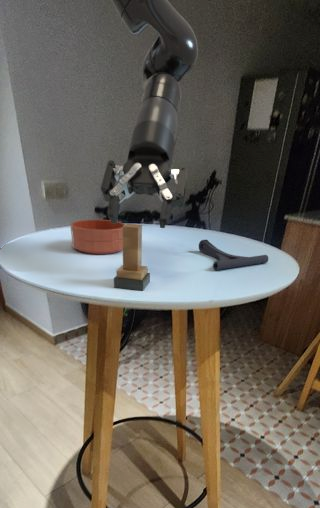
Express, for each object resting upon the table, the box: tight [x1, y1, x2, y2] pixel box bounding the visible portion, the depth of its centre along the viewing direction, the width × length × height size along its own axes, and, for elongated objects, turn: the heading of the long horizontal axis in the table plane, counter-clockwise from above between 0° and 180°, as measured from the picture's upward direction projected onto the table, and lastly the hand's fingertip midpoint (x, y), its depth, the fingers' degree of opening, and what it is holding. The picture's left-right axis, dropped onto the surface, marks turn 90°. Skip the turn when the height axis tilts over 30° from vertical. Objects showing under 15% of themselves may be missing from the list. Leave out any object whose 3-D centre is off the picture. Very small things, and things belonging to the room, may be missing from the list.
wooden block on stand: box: [113, 223, 151, 291], centre depth 62 cm, size 5×5×10 cm
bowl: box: [69, 219, 126, 255], centre depth 83 cm, size 12×12×5 cm
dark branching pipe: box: [198, 239, 269, 271], centre depth 81 cm, size 14×15×3 cm
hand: (137, 222), depth 61 cm, fingers open, 8 cm apart
